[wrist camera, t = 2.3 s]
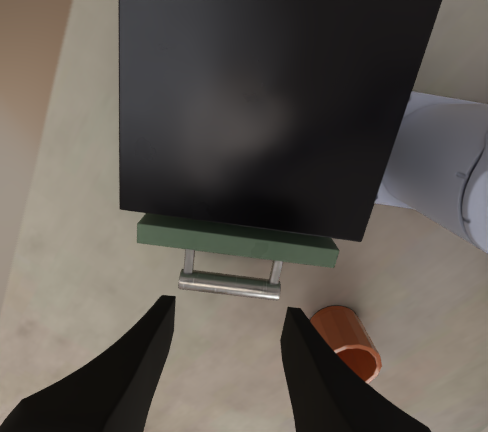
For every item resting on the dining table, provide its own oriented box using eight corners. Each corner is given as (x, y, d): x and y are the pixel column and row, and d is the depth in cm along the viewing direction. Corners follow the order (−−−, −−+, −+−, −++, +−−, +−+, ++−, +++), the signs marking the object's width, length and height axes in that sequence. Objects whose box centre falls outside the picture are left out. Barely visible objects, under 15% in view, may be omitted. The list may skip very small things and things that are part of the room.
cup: (365, 308, 26) (389, 347, 22) (350, 348, 28) (370, 392, 24) (314, 302, 26) (329, 341, 22) (302, 343, 28) (314, 387, 24)
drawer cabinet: (321, 196, 22) (361, 242, 15) (160, 173, 22) (119, 209, 14) (370, 8, 18) (462, -59, 11) (170, -30, 17) (117, -133, 10)
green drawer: (296, 276, 24) (314, 332, 18) (161, 259, 23) (135, 312, 17) (351, 61, 18) (404, 42, 12) (174, 30, 18) (141, -6, 12)
